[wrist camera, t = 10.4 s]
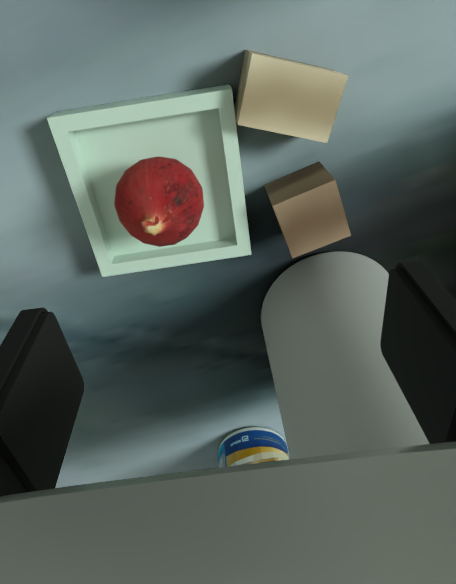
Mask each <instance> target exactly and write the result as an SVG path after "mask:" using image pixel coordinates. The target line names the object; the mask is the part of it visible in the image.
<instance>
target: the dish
mask: <svg viewBox="0 0 456 584" xmlns="http://www.w3.org/2000/svg"><path fill="white" fill-rule="evenodd" d="M47 120H48V123H49V126H50V129H51V132H52V135H53V137H54V140H55V143H56V146H57V149H58V152H59V155H60V157H61V160H62V163H63V166H64V169H65V172H66V175H67V177H68V180H69V183H70V186H71V189H72V192H73V195H74V197H75V200H76V203H77V206H78V209H79V212H80V215H81V217H82V220H83V223H84V226H85V229H86V232H87V235H88V237H89V240H90V243H91V246H92V249H93V252H94V255H95V257H96V260H97V263H98V266H99V269H100V272H101V275H102V277H106V276H112V275H119V274H126V273H132V272H139V271H146V270H152V269H159V268H166V267H173V266H179V265H186V264H193V263H199V262H206V261H213V260H219V259H226V258H233V257H239V256H246V255H251V247H250V238H249V230H248V221H247V213H246V204H245V196H244V187H243V179H242V170H241V162H240V153H239V145H238V136H237V128H236V119H235V111H234V102H233V94H232V88H231V86H230V84H228V85H222V86H215V87H209V88H203V89H196V90H190V91H184V92H177V93H171V94H165V95H158V96H152V97H146V98H139V99H133V100H127V101H121V102H114V103H108V104H102V105H95V106H89V107H83V108H76V109H70V110H64V111H57V112H56V113H54V114H53V115H51V116H49V117H48V118H47ZM158 156H159V157H166V158H173V159H177V160H178V161H180V162H181V163H183V164H184V165H186V166H187V167H189V168H190V169H191V170H192V171H193V173H194V175H195V176H196V178H197V179H198V181H199V183H200V184H201V186H202V190H203V200H204V208H203V212H202V215H201V218H200V221H199V224H198V226H197V227H196V228H195V229H194V231H193V232H192V233H191V234H190V235H189V236H188V237H187V238H186V239H184V240H182V241H180V242H178V243H177V244H175V245H169V246H162V247H158V246H153V245H149V244H144V243H142V242H141V241H139V240H138V239H136V238H134V237H133V236H131V235H130V234H129V233H128V231H127V230H126V229H125V227H124V226H123V225H122V224H121V222H120V221H119V218H118V215H117V212H116V209H115V206H114V201H115V191H116V185H117V183H118V181H119V180H120V178H121V177H122V175H123V174H124V172H125V171H126V170H127V169H128V168H130V167H131V166H132V165H134V164H135V163H137V162H138V161H139V160H142V159H147V158H152V157H158Z"/></svg>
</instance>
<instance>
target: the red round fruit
mask: <svg viewBox="0 0 456 584" xmlns="http://www.w3.org/2000/svg"><path fill="white" fill-rule="evenodd" d="M114 206H115V209H116V212H117V215H118V218H119V221H120V222H121V224H122V225H123V226H124V227H125V229H126V230H127V231H128V233H129V234H130V235H131V236H133V237H134V238H136V239H138V240H139V241H141V242H142V243H144V244H149V245H153V246H158V247H162V246H169V245H175V244H177V243H178V242H180V241H182V240H184V239H186V238H187V237H188V236H189V235H190V234H191V233H192V232H193V231H194V229H195V228H196V227H197V226H198V224H199V221H200V218H201V215H202V212H203V208H204V200H203V190H202V186H201V184H200V183H199V181H198V179H197V178H196V176H195V175H194V173H193V171H192V170H191V169H190V168H189V167H187V166H186V165H184V164H183V163H181V162H180V161H178V160H177V159H173V158H166V157H159V156H158V157H152V158H147V159H142V160H139V161H138V162H137V163H135V164H134V165H132V166H131V167H130V168H128V169H127V170H126V171H125V172H124V174H123V175H122V177H121V178H120V180H119V181H118V183H117V185H116V191H115V201H114Z"/></svg>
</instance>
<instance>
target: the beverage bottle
mask: <svg viewBox="0 0 456 584" xmlns="http://www.w3.org/2000/svg"><path fill="white" fill-rule="evenodd" d="M288 459H289V458H288V450H287V446H286V443H285V441H284V439H283V438H282V437H281V436H280V435H279V434H278V433H277V432H275V431H273V430H270V429H267V428H262V427H249V428H244V429H240V430H237V431H235V432H233V433H231V434H230V435H228V436H227V437H226V438H225V439H224V440H223V441H222V443H221V444H220V447H219V450H218V462H219V468H221V467H229V466H238V465H246V464H255V463H263V462H271V461H280V460H288Z"/></svg>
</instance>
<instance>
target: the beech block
mask: <svg viewBox="0 0 456 584" xmlns="http://www.w3.org/2000/svg"><path fill="white" fill-rule="evenodd" d="M347 79H348V75H345V74H342V73H339V72H337V71H334V70H331V69H327V68H322V67H318V66H314V65H309V64H305V63H301V62H296V61H292V60H288V59H284V58H279V57H275V56H271V55H266V54H262V53H258V52H253V51H249V50H245V56H244V61H243V66H242V71H241V76H240V81H239V86H238V92H237V97H236V102H235V107H234V111H235V119H236V122H237V124H238V125H241V126H246V127H251V128H256V129H261V130H266V131H271V132H276V133H281V134H286V135H290V136H295V137H300V138H305V139H310V140H315V141H320V142H325V143H327V142H328V139H329V135H330V132H331V129H332V126H333V123H334V120H335V116H336V113H337V110H338V107H339V104H340V101H341V97H342V94H343V91H344V88H345V85H346V82H347Z"/></svg>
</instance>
